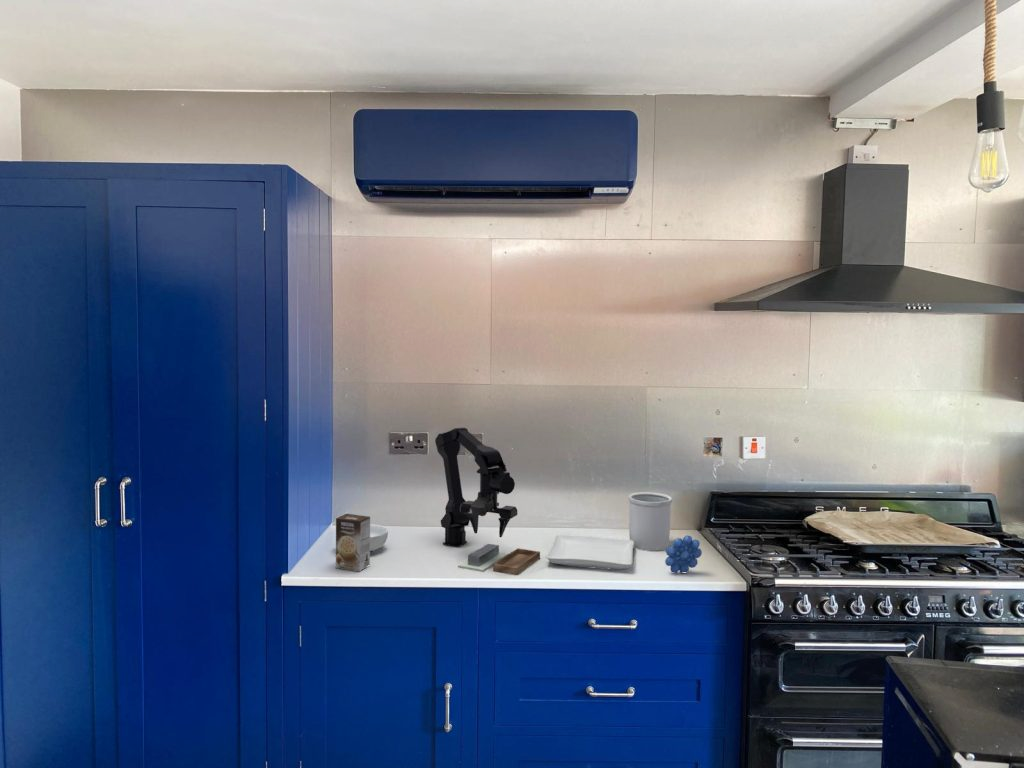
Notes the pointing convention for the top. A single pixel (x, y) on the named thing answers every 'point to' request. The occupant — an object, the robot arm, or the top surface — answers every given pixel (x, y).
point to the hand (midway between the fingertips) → (488, 535)
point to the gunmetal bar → (483, 555)
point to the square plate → (591, 552)
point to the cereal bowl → (377, 536)
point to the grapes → (683, 554)
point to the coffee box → (352, 542)
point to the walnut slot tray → (516, 561)
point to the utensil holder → (649, 520)
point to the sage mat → (485, 565)
